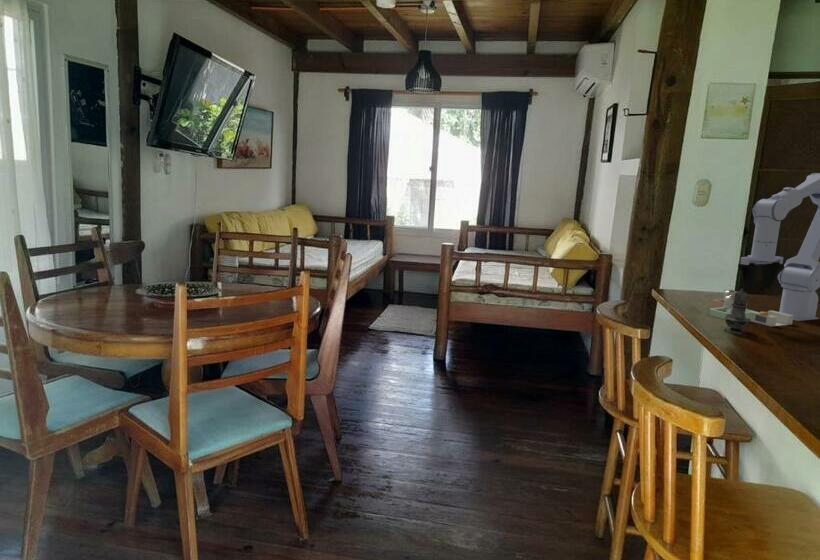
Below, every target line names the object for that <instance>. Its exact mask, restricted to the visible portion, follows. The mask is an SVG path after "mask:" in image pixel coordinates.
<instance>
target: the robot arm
mask: <svg viewBox="0 0 820 560" xmlns="http://www.w3.org/2000/svg"><path fill="white" fill-rule="evenodd" d="M807 197H810V199H811V202H812V203H813V204H815V205H817V210H816V212H815V215H814V216H813V218H812V219H813V220H812V221H811V224H810V226H809V228H808V230H807V232H806V236H805V237H804V240H803V242H802V244H801V246H800V248H799V250H798V253H797V255H795V256H793V257H791V258H788V259H787V260H786V261H785V263H783V262H784V256H778V255H776V253H777V246H778V239H779V235H780V234H779V233H780V228H781V221H782V220H785V218H786V217H787V215H788V214H789V212H790V211H791V210H793V209H794V208H797V207H798V206H800V205H801V204H802V203H803V199H804V198H807ZM752 216H753V223H754V225H755V227H754V234H753V240H752V246H751V252H750V255H749V254H748V255H747V256H742V257H740V263H738V265H737V266H738V267H737V268H738V269H739V271H740V273H741V276H742V282H743V290H744V289H745V290H749V291H752V290H753V289H754V286H755V284H756V279H757V277H758V274H759V273H760V270H761V269H762V288H764V289H769V290H771V289H772V288H773V286H774V283H775V282H776V279H777V280H778V283H779V284H780V287H781V288H783V289H782V294H781V300H780V307H779V311H778V312H781V313H785V314H789V315H794V316H793V320H794V321H798V322H799V321H801V322H802V321H811V320H819V317H816V314H817V309H818V303H819V295H818V293H817V292H816V291H817V290H818V289H820V261H819V259H820V172H813V173H811V174H809V175H807V176H806V179H805V181H803V182H802V183H800V184H799V185H796V187H790V186H789V187H783V188H782V190H781V191H779V192H778V193H776V194H772V195H771V197H769V198H761V199H760V200H758V201H756V203H755V204H754V205H753V208H752ZM756 265H761V266H756Z"/></svg>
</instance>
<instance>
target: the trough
mask: <svg viewBox="0 0 820 560" xmlns="http://www.w3.org/2000/svg"><path fill="white" fill-rule="evenodd" d="M751 312H757V311H756V310H751V309H748V308H746V310H745V317H746V318H747V319H749V320H750V318H751ZM706 315H707V316H710V317H714V318H717V319H720V320H724V321H726V319H725V317H726V316H729V315H731V313H725V312H723V307H722V308H711V307H710V308H709V307H708V308H707V311H706Z"/></svg>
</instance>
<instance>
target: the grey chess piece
mask: <svg viewBox="0 0 820 560" xmlns="http://www.w3.org/2000/svg"><path fill="white" fill-rule="evenodd" d="M747 301H748V294H747V292H745V290H744V287H742V288H740V290H738V291H736V293H735V297H734V303H733V304H732V305H733V307H732V313H731V315H729V316H726V317H725V319H726V320H725V324H726V325H727V328H724V329H723V331H725V332H726V333H729V334H732V335H733V334H734V335H739V334H740V335H742V336H743V335H746V331H745V330H744V329H745V328H747V327H748V325H749V323H751V321H750V319H747V318H746V317H745V310H746V309H747V308H746V307H748V304H747ZM746 304H747V305H746Z"/></svg>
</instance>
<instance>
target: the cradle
mask: <svg viewBox="0 0 820 560" xmlns="http://www.w3.org/2000/svg"><path fill="white" fill-rule="evenodd" d="M793 316H794V315H789V314H785V313H781V312H779V311H776V310H767V311H760V312H759V311H756V312H751V318H750V319H749V320H750V322H753V323H757V324H759V325H764V326H767V327H782V326H789V325H790V326H791V325H793Z"/></svg>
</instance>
